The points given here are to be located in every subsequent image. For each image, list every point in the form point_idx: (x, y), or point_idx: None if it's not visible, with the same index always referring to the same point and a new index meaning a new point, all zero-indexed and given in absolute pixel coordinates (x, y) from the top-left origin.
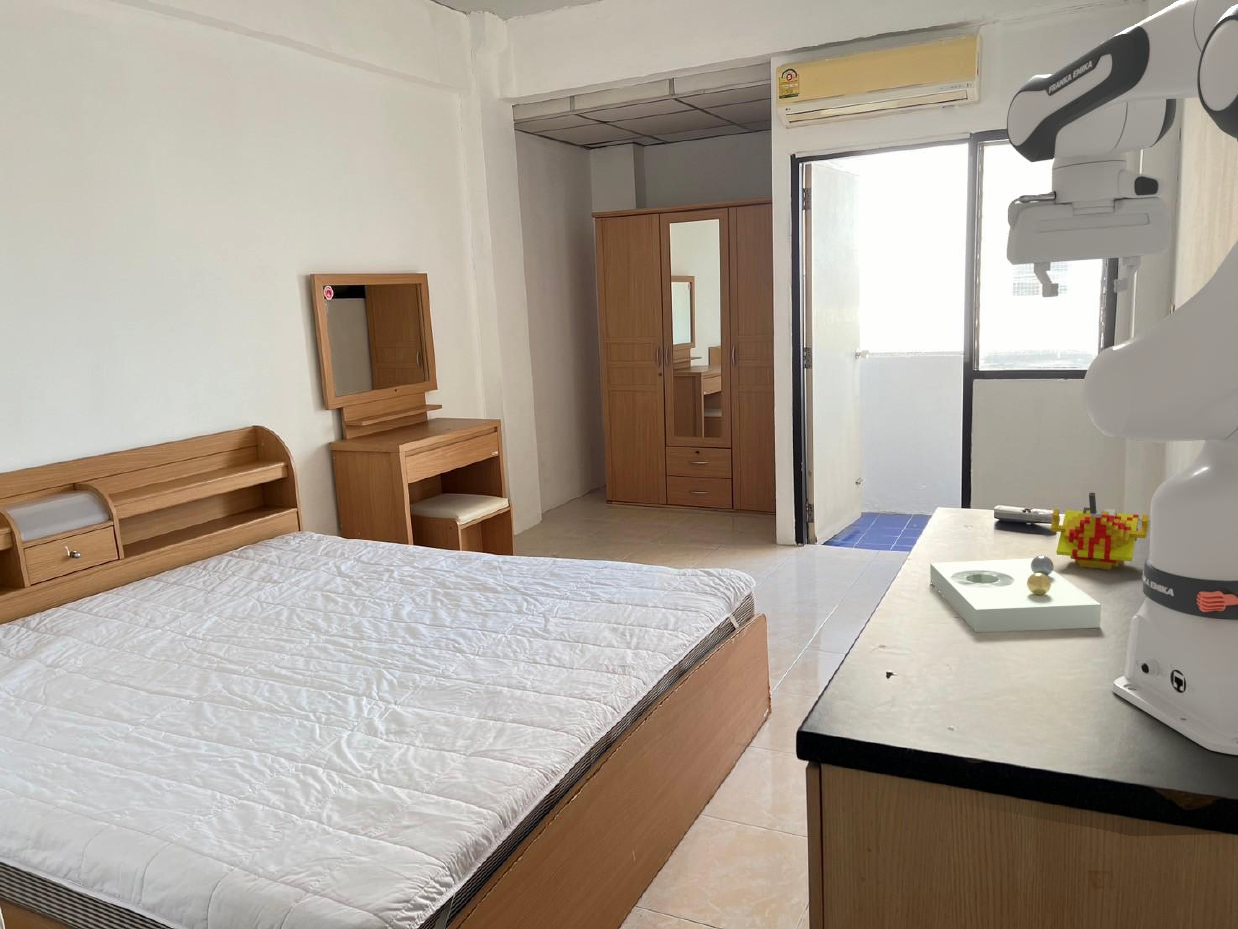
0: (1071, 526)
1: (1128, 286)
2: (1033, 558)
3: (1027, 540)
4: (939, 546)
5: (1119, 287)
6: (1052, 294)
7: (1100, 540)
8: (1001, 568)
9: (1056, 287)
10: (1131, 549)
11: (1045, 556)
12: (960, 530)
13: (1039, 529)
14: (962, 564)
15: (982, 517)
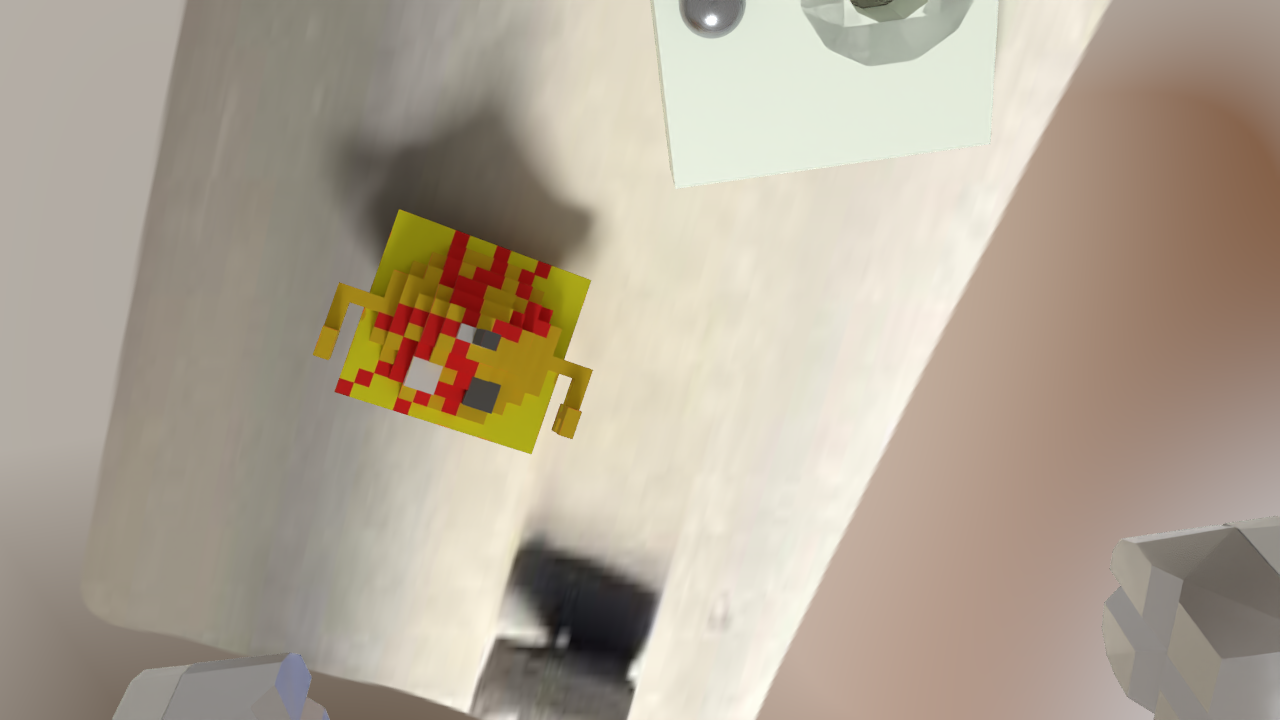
0: (539, 349)
1: (149, 704)
2: (681, 186)
3: (601, 501)
4: (842, 453)
5: (276, 691)
6: (1217, 527)
7: (473, 269)
8: (802, 82)
9: (1217, 603)
10: (390, 244)
11: (705, 12)
12: (749, 586)
13: (547, 592)
14: (902, 126)
15: (663, 689)
